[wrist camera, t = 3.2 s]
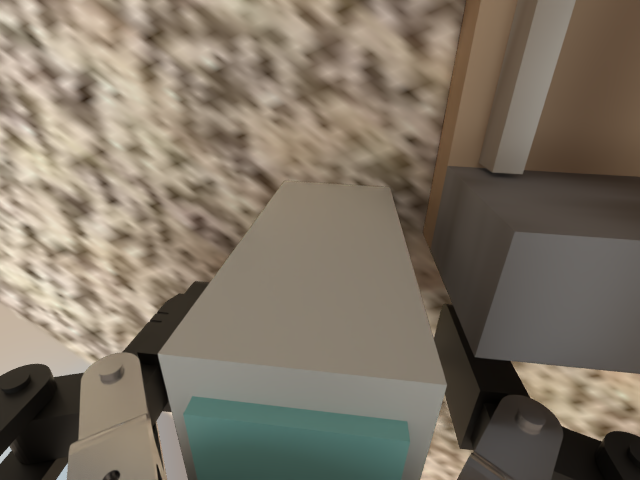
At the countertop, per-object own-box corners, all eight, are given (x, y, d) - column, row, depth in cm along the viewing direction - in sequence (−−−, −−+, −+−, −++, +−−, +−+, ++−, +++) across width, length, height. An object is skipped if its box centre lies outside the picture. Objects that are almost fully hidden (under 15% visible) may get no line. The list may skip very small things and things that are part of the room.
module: (389, 186, 12) (453, 405, 4) (369, 347, 16) (380, 641, 8) (284, 180, 13) (145, 370, 4) (286, 339, 16) (211, 612, 8)
